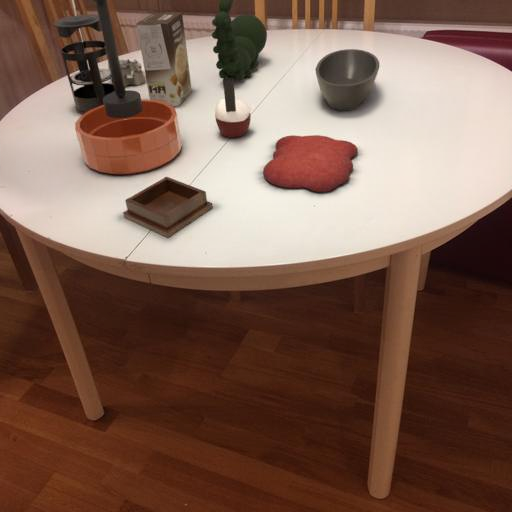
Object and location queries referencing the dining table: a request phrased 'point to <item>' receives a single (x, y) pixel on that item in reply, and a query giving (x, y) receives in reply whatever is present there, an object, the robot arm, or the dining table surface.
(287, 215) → the dining table surface
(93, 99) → the french press
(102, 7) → the black plunger
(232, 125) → the cocoa
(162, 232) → the small square brown tray
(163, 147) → the orange round dish
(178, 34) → the coffee box
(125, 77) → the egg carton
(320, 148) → the patty
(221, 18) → the green topiary foliage
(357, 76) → the bowl
